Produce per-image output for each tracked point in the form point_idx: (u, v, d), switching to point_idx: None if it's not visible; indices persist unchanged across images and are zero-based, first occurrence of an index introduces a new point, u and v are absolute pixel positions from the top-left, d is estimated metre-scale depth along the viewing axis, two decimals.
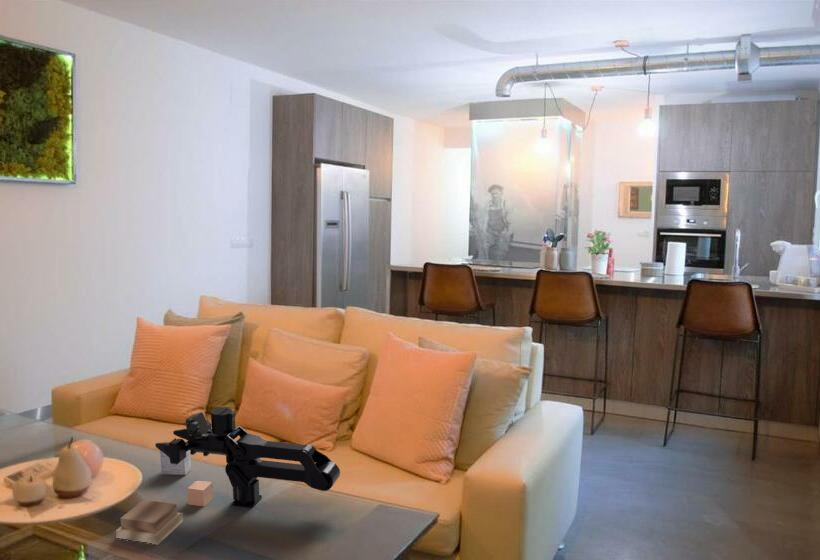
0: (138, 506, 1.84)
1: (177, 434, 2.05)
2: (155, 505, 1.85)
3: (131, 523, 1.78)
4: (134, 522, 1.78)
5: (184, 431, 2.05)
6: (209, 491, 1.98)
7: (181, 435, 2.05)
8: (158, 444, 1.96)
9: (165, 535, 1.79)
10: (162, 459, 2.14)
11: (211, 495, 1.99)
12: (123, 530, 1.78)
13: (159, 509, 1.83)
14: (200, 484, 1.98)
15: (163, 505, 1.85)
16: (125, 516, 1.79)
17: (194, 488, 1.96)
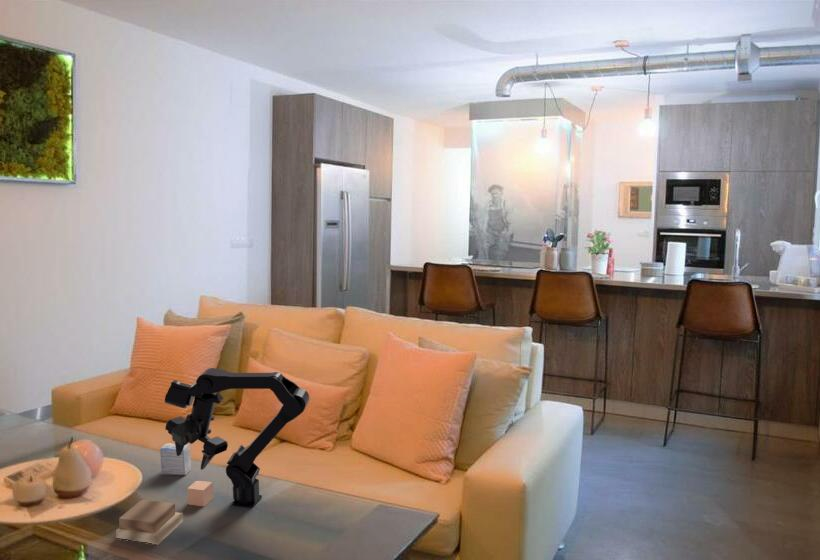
0: (136, 506, 1.85)
1: (181, 450, 1.99)
2: (153, 505, 1.85)
3: (129, 523, 1.78)
4: (133, 522, 1.78)
5: (179, 444, 1.98)
6: (209, 491, 1.98)
7: (182, 446, 1.99)
8: (203, 466, 1.94)
9: (165, 535, 1.79)
10: (162, 459, 2.14)
11: (211, 495, 1.99)
12: (123, 530, 1.78)
13: (157, 509, 1.83)
14: (200, 484, 1.98)
15: (162, 505, 1.85)
16: (124, 516, 1.79)
17: (194, 488, 1.96)
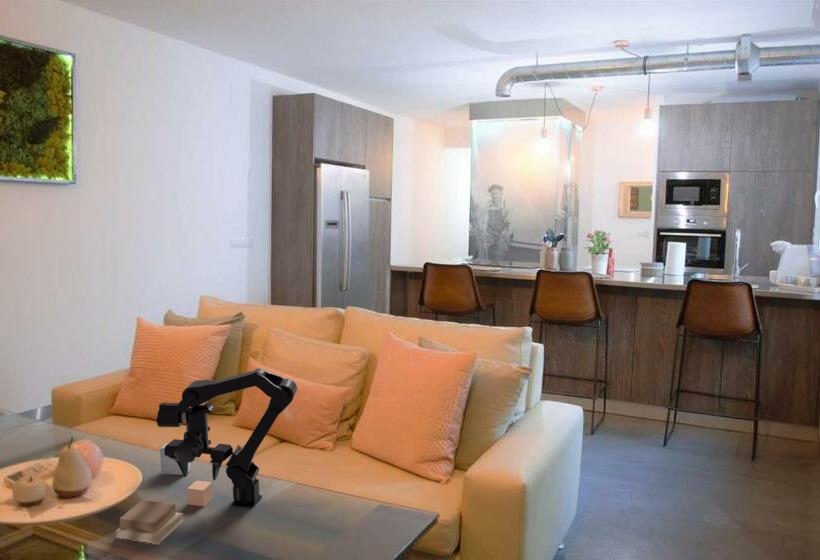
0: (137, 506, 1.84)
1: (186, 471, 1.98)
2: (154, 505, 1.85)
3: (130, 523, 1.78)
4: (134, 522, 1.78)
5: (183, 465, 1.97)
6: (209, 491, 1.98)
7: (186, 466, 1.98)
8: (215, 476, 1.95)
9: (165, 535, 1.79)
10: (162, 459, 2.14)
11: (211, 495, 1.99)
12: (123, 530, 1.78)
13: (158, 509, 1.83)
14: (200, 484, 1.98)
15: (162, 505, 1.85)
16: (124, 516, 1.79)
17: (194, 488, 1.96)
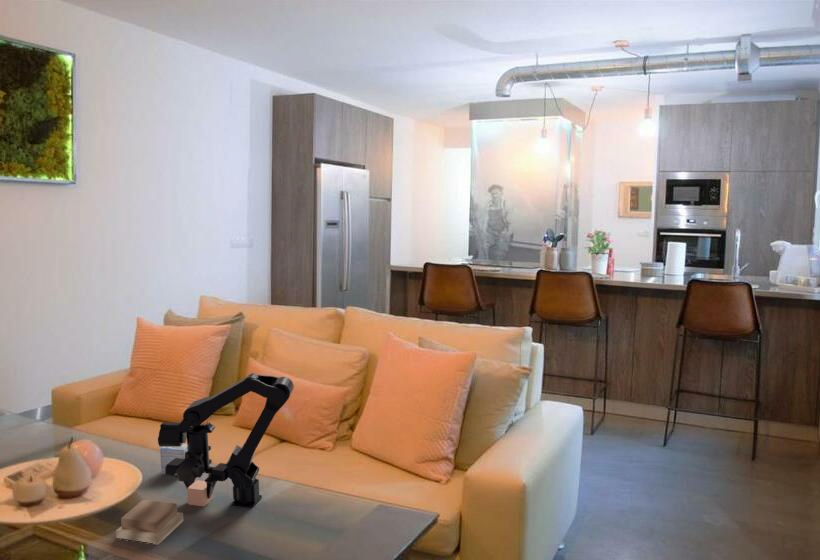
0: (138, 506, 1.85)
1: None
2: (155, 505, 1.85)
3: (132, 523, 1.78)
4: (135, 521, 1.78)
5: None
6: None
7: None
8: (209, 495, 1.97)
9: (165, 535, 1.79)
10: (162, 459, 2.14)
11: (211, 495, 1.99)
12: (123, 530, 1.78)
13: (159, 509, 1.83)
14: (200, 484, 1.98)
15: (164, 505, 1.85)
16: (126, 516, 1.79)
17: (194, 488, 1.96)
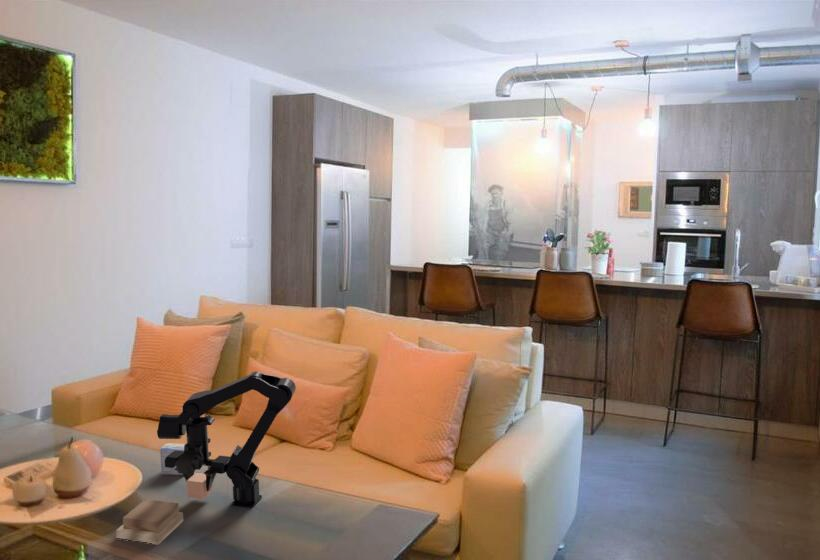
0: (140, 506, 1.85)
1: None
2: (157, 505, 1.85)
3: (133, 523, 1.78)
4: (137, 521, 1.78)
5: None
6: None
7: None
8: (209, 487, 1.96)
9: (165, 535, 1.79)
10: (162, 459, 2.14)
11: None
12: (123, 530, 1.78)
13: (161, 508, 1.83)
14: (199, 476, 1.98)
15: (165, 504, 1.85)
16: (127, 516, 1.79)
17: (193, 480, 1.95)
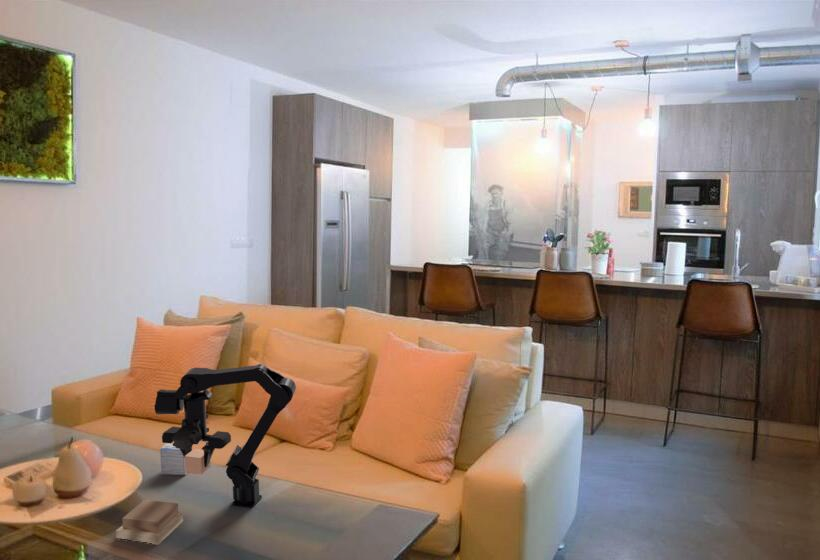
0: (139, 506, 1.85)
1: None
2: (156, 505, 1.85)
3: (133, 523, 1.78)
4: (136, 521, 1.78)
5: (187, 453, 1.95)
6: None
7: None
8: (206, 463, 1.95)
9: (165, 535, 1.79)
10: (162, 459, 2.14)
11: None
12: (123, 530, 1.78)
13: (161, 509, 1.83)
14: (197, 452, 1.96)
15: (165, 504, 1.85)
16: (127, 516, 1.79)
17: (191, 456, 1.94)
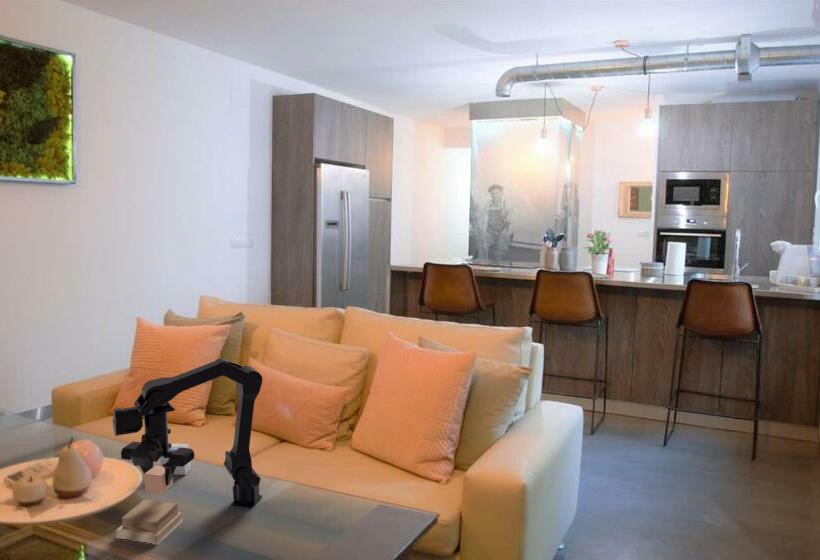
0: (139, 506, 1.84)
1: None
2: (156, 505, 1.85)
3: (132, 523, 1.78)
4: (136, 521, 1.78)
5: None
6: None
7: None
8: (168, 481, 1.83)
9: (165, 535, 1.79)
10: (162, 459, 2.14)
11: (171, 481, 1.86)
12: (123, 530, 1.78)
13: (160, 509, 1.83)
14: (159, 469, 1.84)
15: (165, 505, 1.85)
16: (126, 516, 1.79)
17: (152, 473, 1.82)
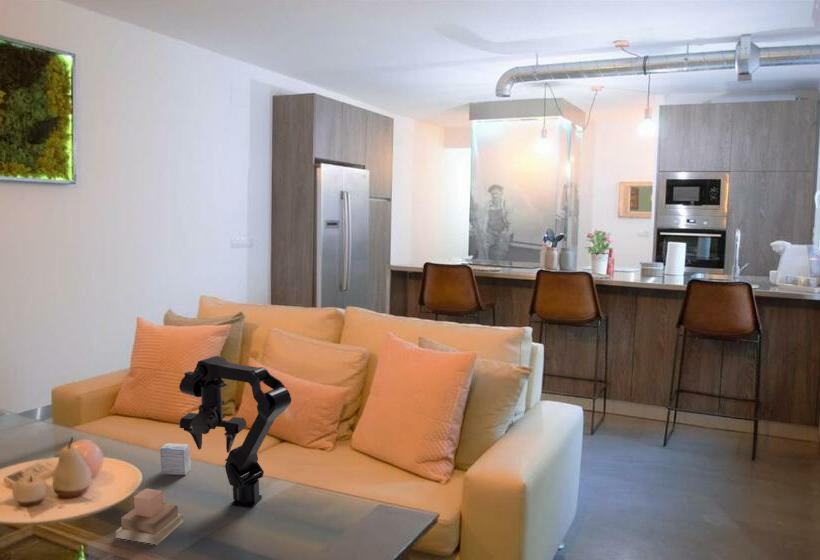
0: None
1: (201, 443, 2.04)
2: None
3: (131, 523, 1.78)
4: (134, 522, 1.78)
5: (197, 438, 2.02)
6: (158, 501, 1.82)
7: (200, 439, 2.04)
8: (229, 449, 2.01)
9: (165, 536, 1.79)
10: (162, 459, 2.14)
11: (161, 505, 1.83)
12: (123, 531, 1.78)
13: None
14: (149, 493, 1.82)
15: (165, 506, 1.85)
16: (126, 516, 1.80)
17: (141, 497, 1.80)
